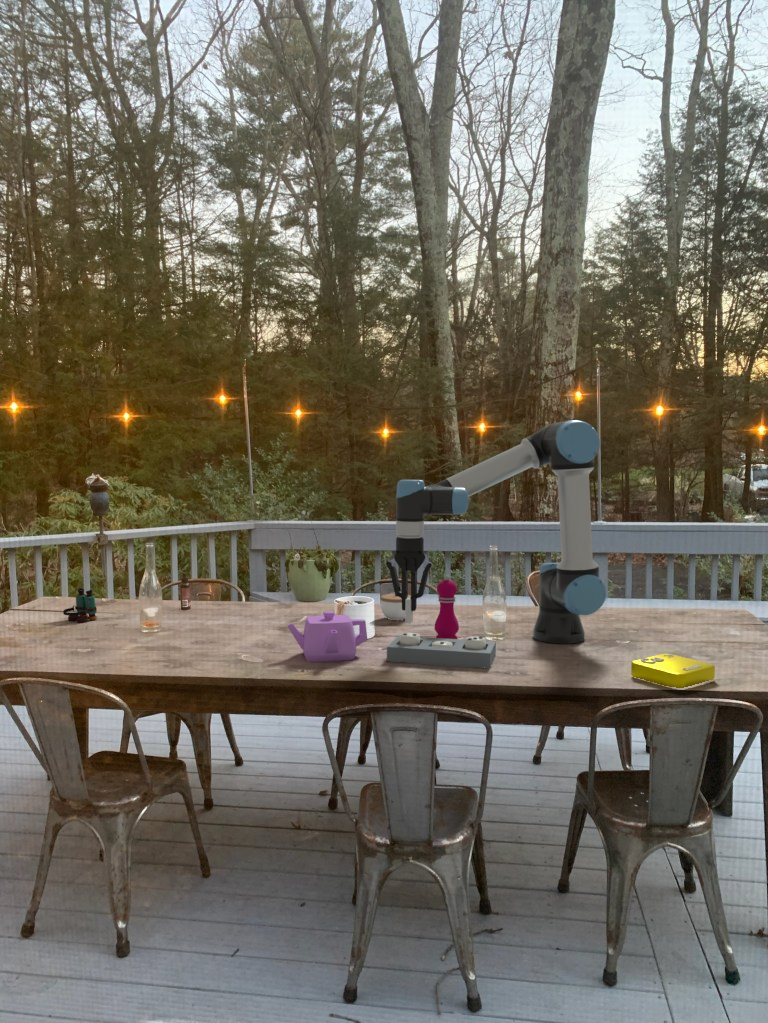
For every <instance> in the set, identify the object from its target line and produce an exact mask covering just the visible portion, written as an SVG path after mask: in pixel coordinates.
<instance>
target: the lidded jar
mask: <svg viewBox="0 0 768 1023" xmlns="http://www.w3.org/2000/svg"><path fill="white" fill-rule="evenodd" d="M407 598H411V594H408V597H407ZM380 608H381V611H382V614H383V615H384V616H385V617H386V619H387V618H389V619H394V620H401V621H403V620H402V619H405V610H402V599H401V598H400V597H398V596H396V595H395V593H386V594H383V595H380Z"/></svg>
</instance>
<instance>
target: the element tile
mask: <svg viewBox="0 0 768 1023" xmlns="http://www.w3.org/2000/svg"><path fill="white" fill-rule="evenodd" d="M630 665H631V668H630V675H632V676H633V677H636V678H640V679H644V680H646V681H650V682H654V683H657V684H660V685H664V686H669V687H676V688H684V687H688V686H692V685H695V684H699V683H702V682H705V681H709V680H713V679H714V678H715V677H716V675H715V674H716V666H715V665H714V663H713V664H712V663H709V662H705V661H704V662H703V661H702V660H701V661H699V660H697V659H693V658H688V657H683V656H680V655H676V654H672V653H661V654H656V655H653V656H652V655H651V656H648V657H644V658H639V659H635V660H632V661H631V664H630Z"/></svg>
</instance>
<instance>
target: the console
mask: <svg viewBox="0 0 768 1023" xmlns="http://www.w3.org/2000/svg"><path fill="white" fill-rule="evenodd" d="M435 641H448V642H451V643H452V644H453V647H452V648H448V647H432V642H435ZM496 650H497V642H496V641H492V640H491V641H490V640H486V650H480V649H465V639H460V638H457V639H444V638H436V637H428V636H427V637H424V636H420V645H419V646H415V645H400V635H397V636H396V638H394V639H393V641H391V642H390V643H389V644H388V645H387V646H386V662H387V661H390V662H389V663H399V662H405V663H404V664H414V663H416V664H417V665H429V664H430V665H431V666H433V665H434V666H444V665H445V667H446V665H447V666H448V667H458V666H460V668H461V666H462V668H463V667H464V668H473V667H482V668H481V669H488V668H490V669H491V668H492V666H491V665H493V663H494V662H495V661H494V660H495V659H494V658H496V655H497V651H496ZM392 661H393V662H392ZM484 667H485V668H484Z"/></svg>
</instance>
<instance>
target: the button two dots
mask: <svg viewBox="0 0 768 1023" xmlns="http://www.w3.org/2000/svg"><path fill="white" fill-rule="evenodd" d="M399 636H400V645H415V646H419V645H420V637H421V634H420V633H418V632H417V633H416V632H403V633H400V634H399Z"/></svg>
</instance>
